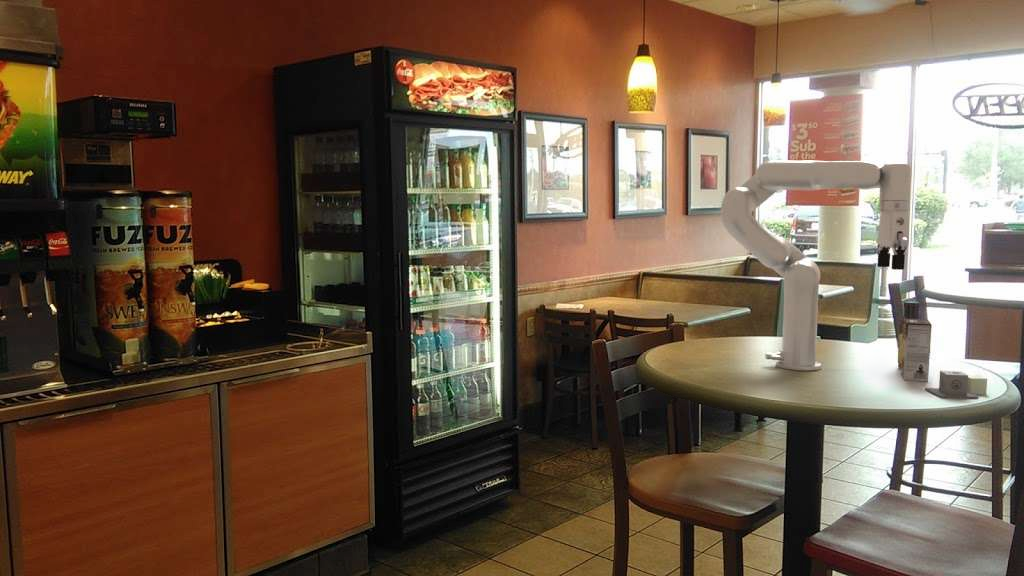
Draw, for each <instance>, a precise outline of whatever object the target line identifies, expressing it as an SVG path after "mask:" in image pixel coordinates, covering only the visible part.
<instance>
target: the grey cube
mask: <svg viewBox="0 0 1024 576" xmlns="http://www.w3.org/2000/svg"><path fill="white" fill-rule="evenodd" d="M968 375H969V374H966V373H965V372H963V371H957V370H939V381H938V382H939V383H938V388H939V390H940V391H942V392H943V393H944V394H955V395H967V385H968Z"/></svg>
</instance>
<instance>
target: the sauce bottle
mask: <svg viewBox="0 0 1024 576" xmlns="http://www.w3.org/2000/svg"><path fill="white" fill-rule="evenodd" d="M919 307H920V302H918V301H903V308H904V309H903V310H904V311H903V312H904V313H903V319H902V320H901V321H900V323H899V329H898V341H897V342H898V343H897V344H898V345H897V363H898V364H897V366H898V369H900V370H901V359H902V340H903V322H904V319H919V320H920V317H919Z"/></svg>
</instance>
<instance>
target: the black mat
mask: <svg viewBox="0 0 1024 576" xmlns="http://www.w3.org/2000/svg"><path fill="white" fill-rule="evenodd" d="M924 391H925V392H928V393H930V394H931V395H934V396H936V397H939V398H941V399H969V400H970V399H971V400H972V399H974V400H975V399H976V400H979V396H977V395H976V394H971V393H969V392H967V395H955V394H944V393H943V392H942V391H940V390H939V387H937V388H936V387H935V388H933V387H924Z"/></svg>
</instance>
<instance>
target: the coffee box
mask: <svg viewBox="0 0 1024 576" xmlns="http://www.w3.org/2000/svg"><path fill="white" fill-rule="evenodd" d="M903 319H904V318H903ZM932 326H933V324H932V323H931V322H930V320H929V319H920V318H919V319H904V322H903V340H902V359H901V369H900V375H901V377H902V379H903V380H904V381H910V382H911V381H914V382H927V383H928V382H929V375H930V374H929V371H930V370H929V369H930V355H931V341H932V339H931V338H932Z"/></svg>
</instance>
